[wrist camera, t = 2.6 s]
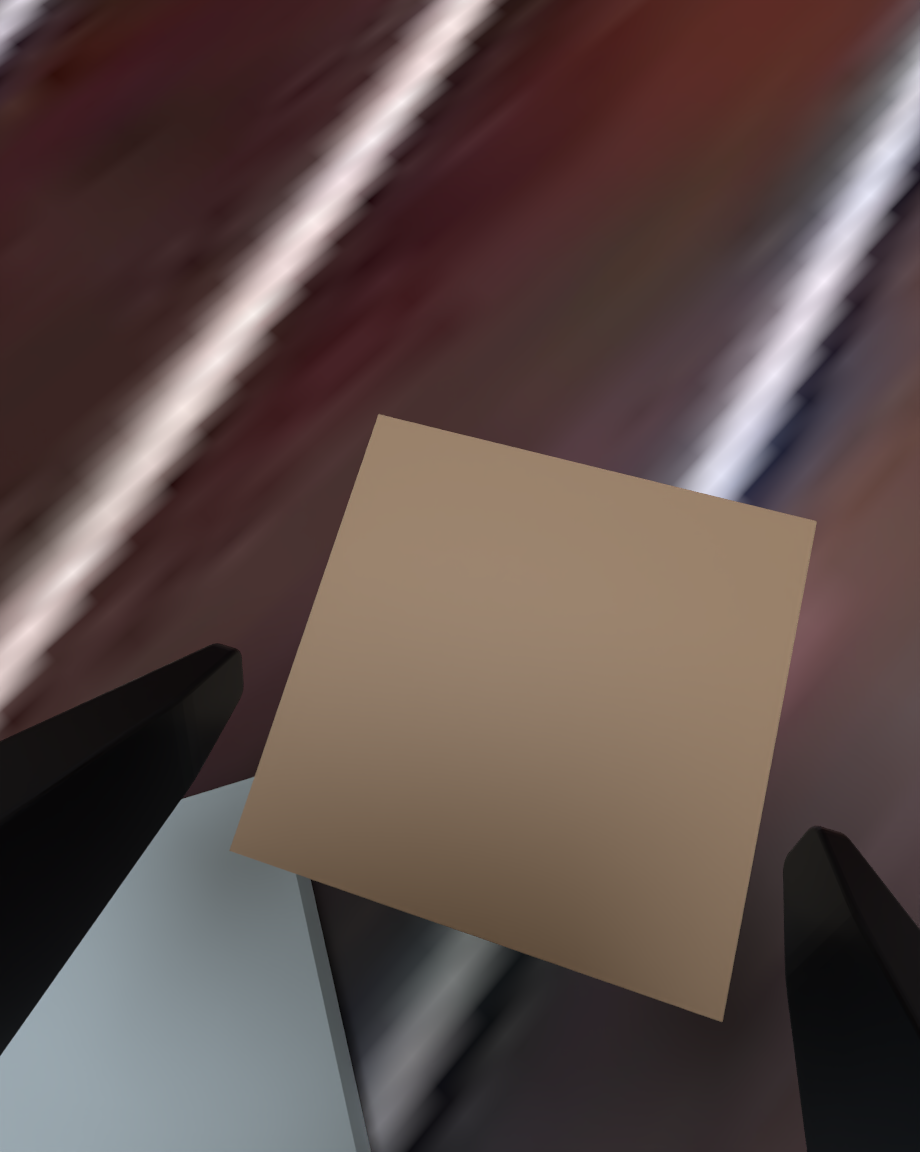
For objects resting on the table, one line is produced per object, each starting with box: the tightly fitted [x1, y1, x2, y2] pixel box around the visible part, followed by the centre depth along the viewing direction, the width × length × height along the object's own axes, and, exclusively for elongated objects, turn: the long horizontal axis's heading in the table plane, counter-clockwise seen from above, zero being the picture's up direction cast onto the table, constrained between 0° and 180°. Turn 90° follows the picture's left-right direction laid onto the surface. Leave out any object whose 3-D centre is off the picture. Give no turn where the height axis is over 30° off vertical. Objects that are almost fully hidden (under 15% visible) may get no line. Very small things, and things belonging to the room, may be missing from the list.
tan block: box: [229, 415, 817, 1022], centre depth 12 cm, size 5×5×12 cm
